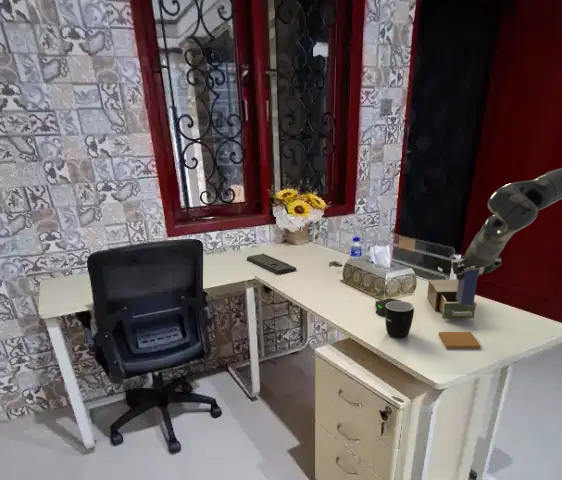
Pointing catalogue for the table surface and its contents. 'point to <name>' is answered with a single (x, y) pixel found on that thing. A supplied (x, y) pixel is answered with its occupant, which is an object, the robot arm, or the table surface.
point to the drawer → (454, 307)
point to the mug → (398, 318)
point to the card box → (467, 287)
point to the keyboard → (271, 264)
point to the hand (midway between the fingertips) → (465, 277)
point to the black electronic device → (383, 306)
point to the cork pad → (459, 340)
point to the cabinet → (440, 290)
